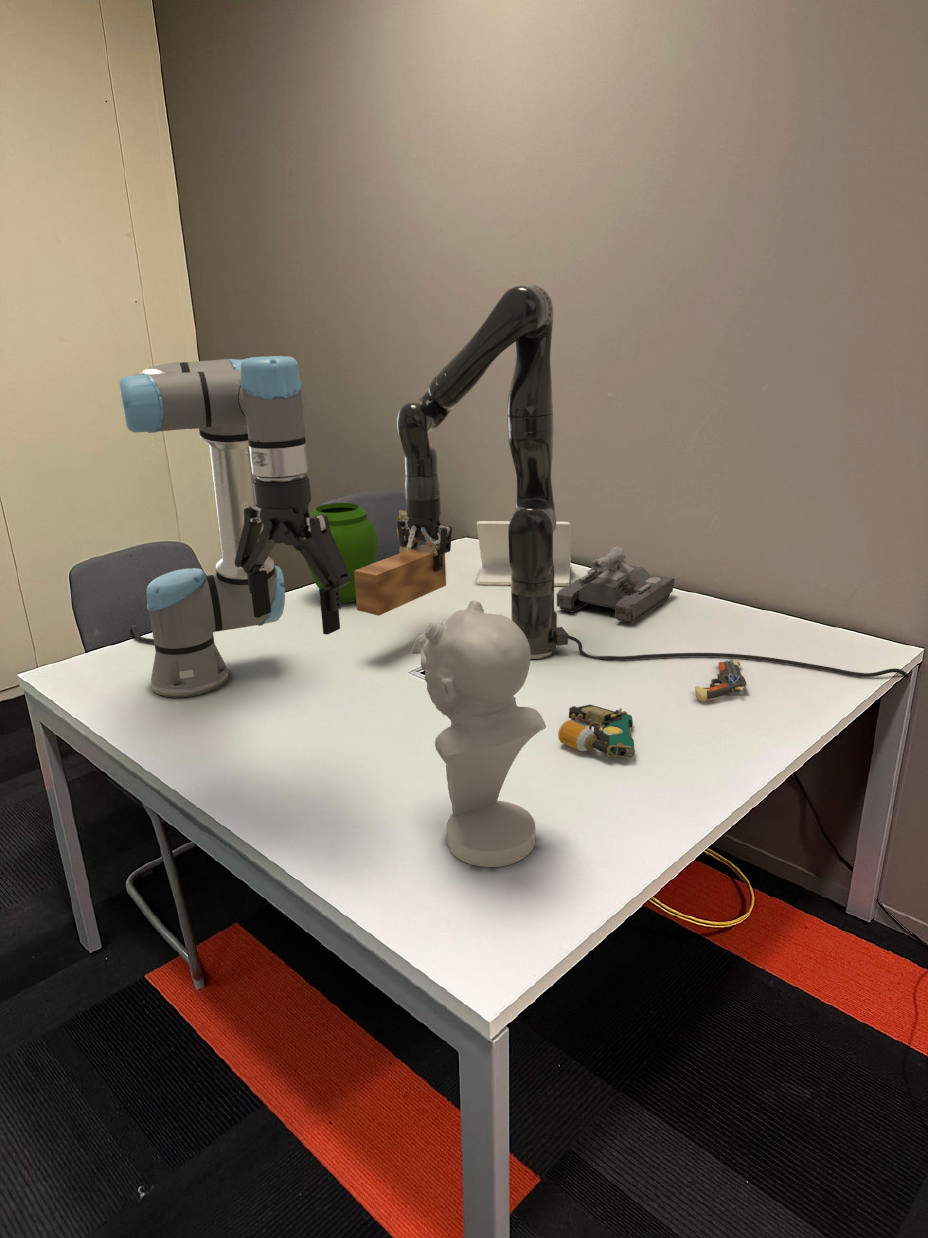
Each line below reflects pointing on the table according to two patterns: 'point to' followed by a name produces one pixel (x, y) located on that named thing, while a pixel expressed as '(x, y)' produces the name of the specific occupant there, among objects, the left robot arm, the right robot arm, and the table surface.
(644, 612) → the toy
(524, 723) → the bust sculpture
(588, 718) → the spray gun
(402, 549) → the sculpture
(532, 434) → the right robot arm
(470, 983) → the table surface
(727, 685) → the toy gun
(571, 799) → the table surface
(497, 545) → the tablet stand
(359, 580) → the box
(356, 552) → the vase
